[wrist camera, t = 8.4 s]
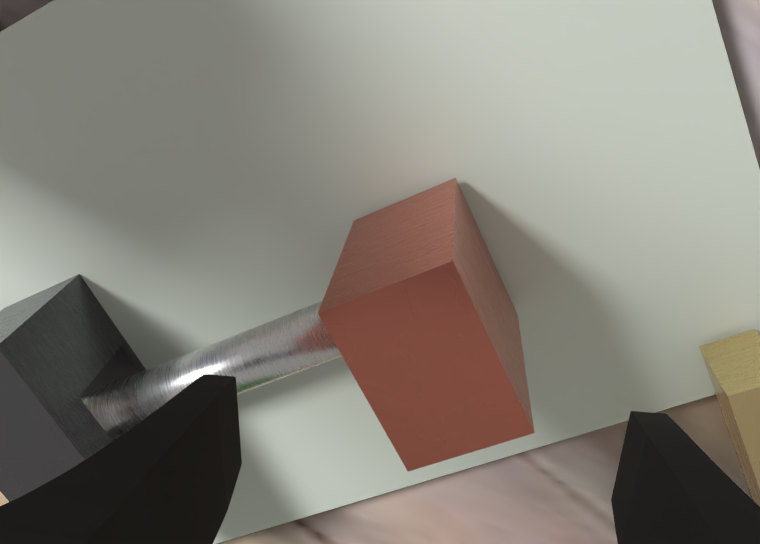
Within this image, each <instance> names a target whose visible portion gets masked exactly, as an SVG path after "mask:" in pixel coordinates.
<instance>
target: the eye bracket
mask: <svg viewBox="0 0 760 544" xmlns="http://www.w3.org/2000/svg"><path fill="white" fill-rule="evenodd" d="M145 370H146V369H145V367H144V366H143V365H142V363H141V362H140V360H139V359H138V357H137V356H136V354H135V353H134V352H133V350H132V349H131V347H130V346H129V344H128V343H127V341H126V340H125V339H124V337H123V336H122V334H121V333H120V331H119V330H118V329H117V327H116V326H115V324H114V323H113V321H112V320H111V318H110V317H109V316H108V314H107V313H106V311H105V310H104V308H103V307H102V305H101V304H100V303H99V301H98V300H97V298H96V297H95V295H94V294H93V292H92V291H91V290H90V288H89V287H88V285H87V284H86V282H85V281H84V279H83V278H82V277H81V275H80V274H78V275H76V276H74V277H72V278H69V279H67V280H65V281H63V282H60V283H58V284H56V285H54V286H52V287H49V288H47V289H45V290H43V291H41V292H38V293H36V294H34V295H32V296H29V297H27V298H25V299H23V300H21V301H18V302H16V303H14V304H12V305H10V306H7V307H5V308H4V309H2V310H1V311H0V491H1V492H2V493H3V495H4V496H5V497H6V498H7V499H8V501H9V502H11V501H13V500H15V499H17V498H19V497H21V496H23V495H25V494H27V493H29V492H31V491H33V490H34V489H36V488H38V487H40V486H42V485H43V484H45V483H47V482H49V481H51V480H53V479H54V478H56V477H58V476H60V475H61V474H63V473H65V472H66V471H68V470H70V469H71V468H73V467H75V466H76V465H78V464H80V463H81V462H83V461H84V460H86V459H87V458H89V457H90V456H92V455H93V454H95V453H96V452H98V451H99V450H101V449H102V448H104V447H105V446H107V445H108V444H110V443H111V442H113V441H114V440H116V439H117V438H116V439H114V440H111V439H110V437H109V436H108V435H107V433H106V432H105V431H104V429H103V428H102V427H101V425H100V424H99V423H98V421H97V420H96V419H95V417H94V416H93V415H92V413H91V412H90V411H89V409H88V408H87V407H86V405H85V404H84V403H83V401H82V400H81V399H80V397H79V396H81V395H83V394H86V393H88V392H91V391H94V390H96V389H99V388H101V387H104V386H106V385H109V384H111V383H114V382H117V381H119V380H122V379H124V378H127V377H129V376H132V375H134V374H137V373H139V372H142V371H145Z"/></svg>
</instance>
